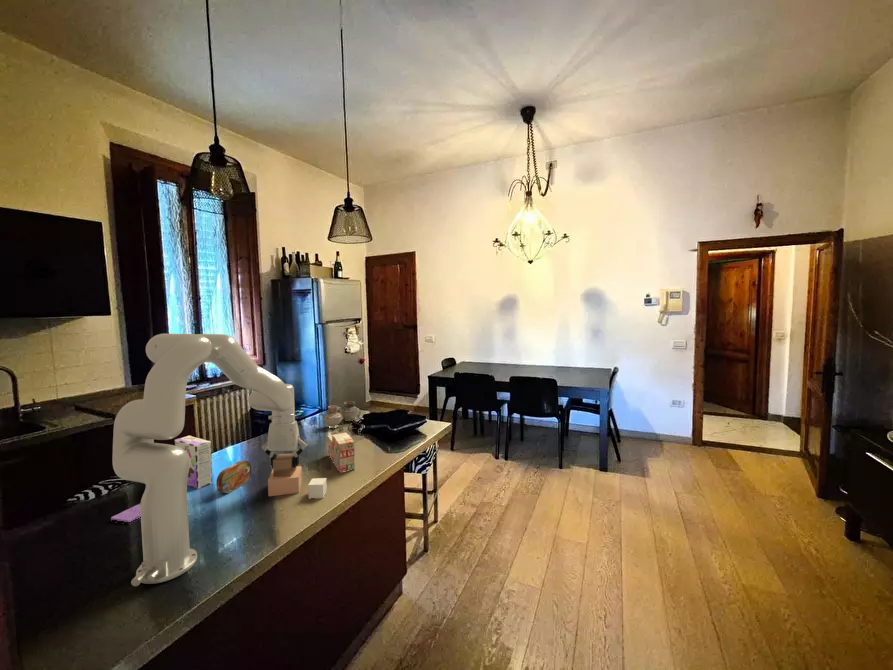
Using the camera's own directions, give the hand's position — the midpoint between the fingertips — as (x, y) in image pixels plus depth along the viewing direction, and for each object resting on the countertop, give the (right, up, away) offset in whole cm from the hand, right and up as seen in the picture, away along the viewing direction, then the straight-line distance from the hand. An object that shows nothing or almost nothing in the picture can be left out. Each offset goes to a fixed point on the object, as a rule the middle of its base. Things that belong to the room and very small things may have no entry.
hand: (285, 466), depth 140 cm
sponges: (-40, -10, -16) cm, 44 cm away
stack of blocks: (+14, -7, +24) cm, 28 cm away
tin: (-19, -8, +1) cm, 21 cm away
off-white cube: (+13, -9, -4) cm, 17 cm away
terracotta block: (0, -8, +1) cm, 9 cm away
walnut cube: (0, -3, 0) cm, 3 cm away
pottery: (0, -3, +78) cm, 78 cm away
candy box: (-36, -8, +5) cm, 38 cm away
